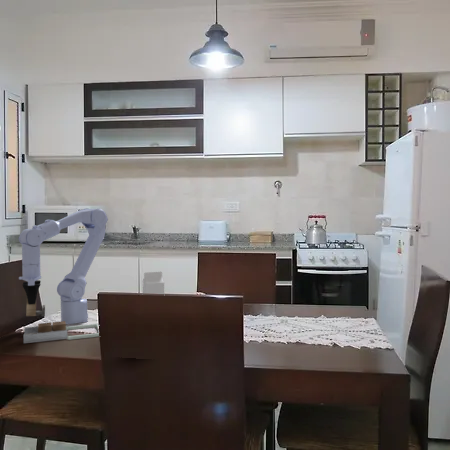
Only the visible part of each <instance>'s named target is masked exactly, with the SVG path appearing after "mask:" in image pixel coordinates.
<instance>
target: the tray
mask: <svg viewBox="0 0 450 450" xmlns="http://www.w3.org/2000/svg"><path fill="white" fill-rule="evenodd" d="M98 324H99V323H89V324H79V325H69V326H66V330H67V331H69V330H79V329H80V330H81V329H89V328H96V330H97V331H98ZM98 337H100V336H99V332H97V333H95V332H94V333H86V334H76V335H67V340H68V341H70V340H79V339H89V338H98Z"/></svg>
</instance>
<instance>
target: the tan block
mask: <svg viewBox="0 0 450 450" xmlns="http://www.w3.org/2000/svg"><path fill="white" fill-rule="evenodd" d="M41 307H42V310H41V309H40V310H37V302H36V303H35V304H28V300H27V299H26V307H25V308H26V310H25V311H26V312H25V313H26V315H25V316H26V317H36V316H39V317H40V316H42V317H45V316H46V304H42V306H41Z"/></svg>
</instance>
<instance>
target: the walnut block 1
mask: <svg viewBox="0 0 450 450" xmlns="http://www.w3.org/2000/svg"><path fill="white" fill-rule="evenodd" d="M52 325H53V324H52V322H44V323H42V322H41V323H38V325H37V326H38V333H39V332H49V331H52Z"/></svg>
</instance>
